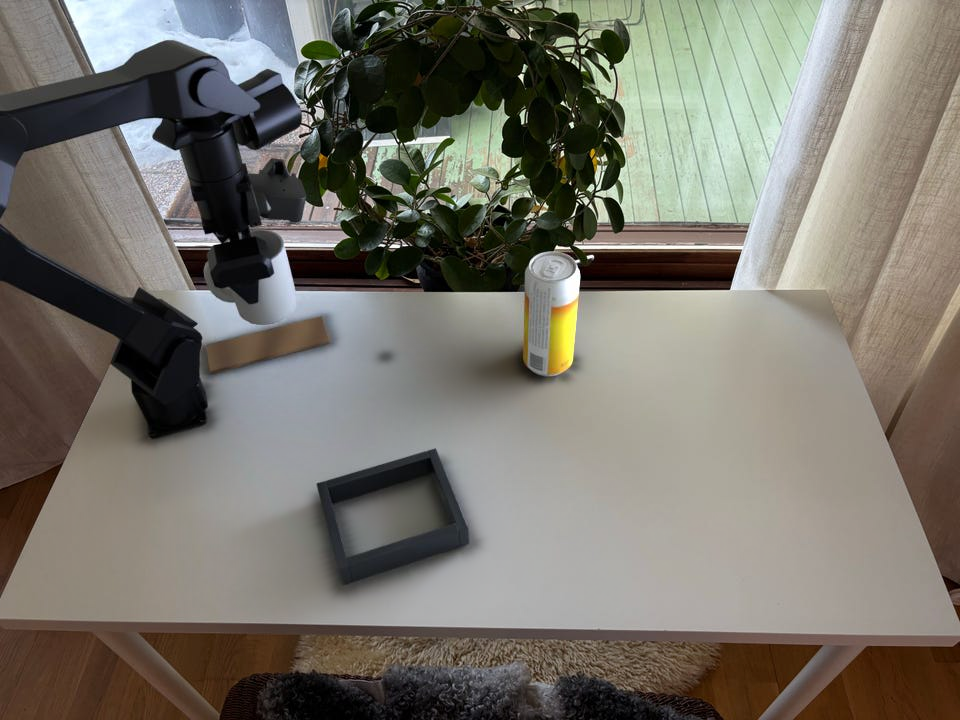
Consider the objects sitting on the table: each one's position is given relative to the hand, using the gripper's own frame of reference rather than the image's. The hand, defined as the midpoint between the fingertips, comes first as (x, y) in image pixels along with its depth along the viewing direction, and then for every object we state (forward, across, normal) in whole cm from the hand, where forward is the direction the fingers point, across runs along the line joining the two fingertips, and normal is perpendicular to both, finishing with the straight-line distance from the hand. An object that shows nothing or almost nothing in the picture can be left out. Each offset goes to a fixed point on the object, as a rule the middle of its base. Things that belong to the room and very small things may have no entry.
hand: (249, 283), depth 93 cm
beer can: (+10, -15, -32) cm, 37 cm away
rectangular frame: (+10, -31, -8) cm, 34 cm away
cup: (+4, 0, 0) cm, 4 cm away
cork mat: (+10, 0, 0) cm, 10 cm away
